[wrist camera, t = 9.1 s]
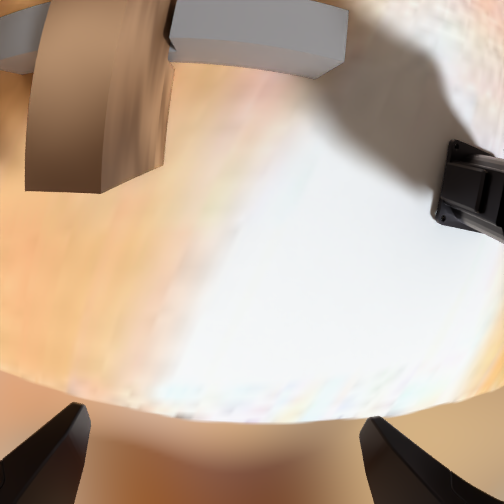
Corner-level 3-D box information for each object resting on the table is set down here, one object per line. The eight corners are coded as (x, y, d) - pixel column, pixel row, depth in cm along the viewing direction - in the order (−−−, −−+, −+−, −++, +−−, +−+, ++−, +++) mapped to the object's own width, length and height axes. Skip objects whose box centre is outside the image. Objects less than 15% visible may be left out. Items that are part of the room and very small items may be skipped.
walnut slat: (163, 165, 18) (100, 193, 8) (117, 162, 17) (25, 191, 8) (201, -54, 12) (191, -149, 3) (158, -53, 12) (125, -140, 3)
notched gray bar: (320, 37, 16) (348, 10, 11) (315, 79, 17) (344, 62, 12) (30, 36, 13) (-10, 21, 9) (22, 74, 14) (-21, 66, 10)
